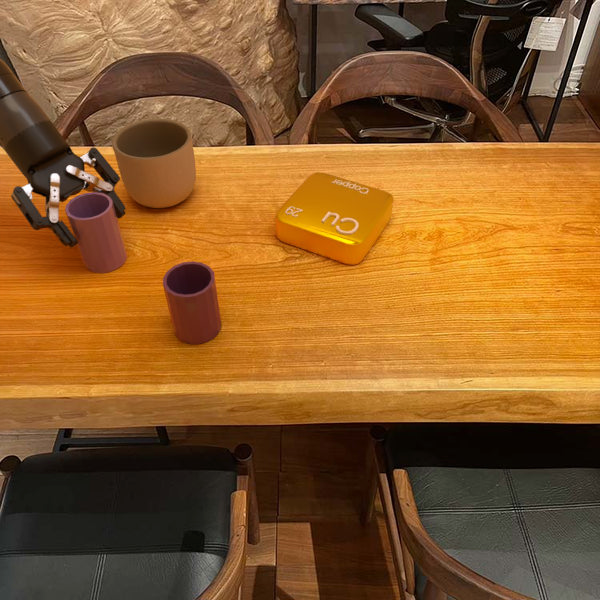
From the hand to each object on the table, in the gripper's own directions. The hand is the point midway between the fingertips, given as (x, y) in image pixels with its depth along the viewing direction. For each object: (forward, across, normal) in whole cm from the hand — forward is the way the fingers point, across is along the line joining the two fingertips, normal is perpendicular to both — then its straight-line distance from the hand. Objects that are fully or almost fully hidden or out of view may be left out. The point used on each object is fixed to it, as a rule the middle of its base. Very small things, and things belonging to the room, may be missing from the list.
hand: (99, 230), depth 85 cm
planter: (0, +17, +9) cm, 19 cm away
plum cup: (+18, -1, -10) cm, 21 cm away
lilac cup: (+4, 0, +4) cm, 6 cm away
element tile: (+20, +28, -12) cm, 36 cm away
